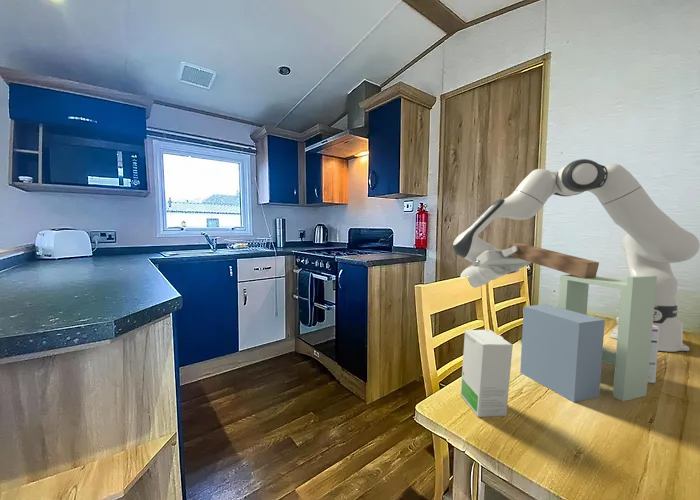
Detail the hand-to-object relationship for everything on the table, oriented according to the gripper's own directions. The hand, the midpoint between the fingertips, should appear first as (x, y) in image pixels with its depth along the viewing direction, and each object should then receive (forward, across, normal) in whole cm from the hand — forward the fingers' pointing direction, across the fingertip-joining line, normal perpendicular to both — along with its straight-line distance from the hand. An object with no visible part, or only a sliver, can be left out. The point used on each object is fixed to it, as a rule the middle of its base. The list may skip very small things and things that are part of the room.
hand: (524, 247), depth 92 cm
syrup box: (+3, +14, +40) cm, 42 cm away
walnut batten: (+4, 0, +8) cm, 9 cm away
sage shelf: (+2, +2, +39) cm, 39 cm away
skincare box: (+3, -33, +39) cm, 51 cm away
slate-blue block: (+1, -9, +38) cm, 39 cm away
